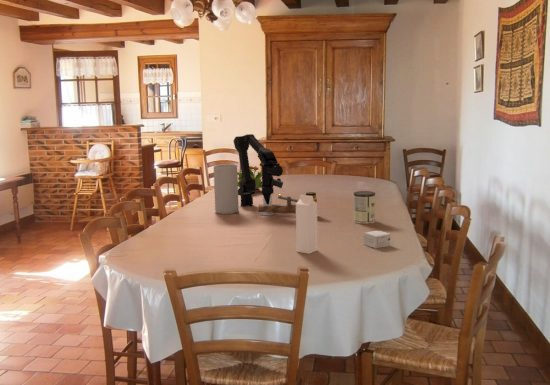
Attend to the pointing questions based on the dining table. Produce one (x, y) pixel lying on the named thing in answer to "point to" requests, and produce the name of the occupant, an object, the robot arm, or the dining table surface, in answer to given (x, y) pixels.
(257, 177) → the potted flower
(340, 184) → the dining table surface
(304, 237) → the milk
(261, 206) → the plane body
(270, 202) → the cap block
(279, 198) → the lever
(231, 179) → the cylinder vase
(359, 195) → the coffee can
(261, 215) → the rubber mat
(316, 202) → the condiment
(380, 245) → the small box
